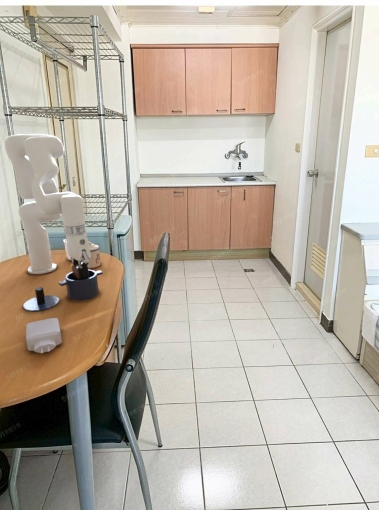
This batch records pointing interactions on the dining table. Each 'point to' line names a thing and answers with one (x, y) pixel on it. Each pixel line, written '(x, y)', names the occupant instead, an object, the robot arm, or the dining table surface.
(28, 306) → the pot lid
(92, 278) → the pot
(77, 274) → the block
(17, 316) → the dining table surface
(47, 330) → the charger
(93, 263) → the teacup with lid
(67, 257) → the white cup
